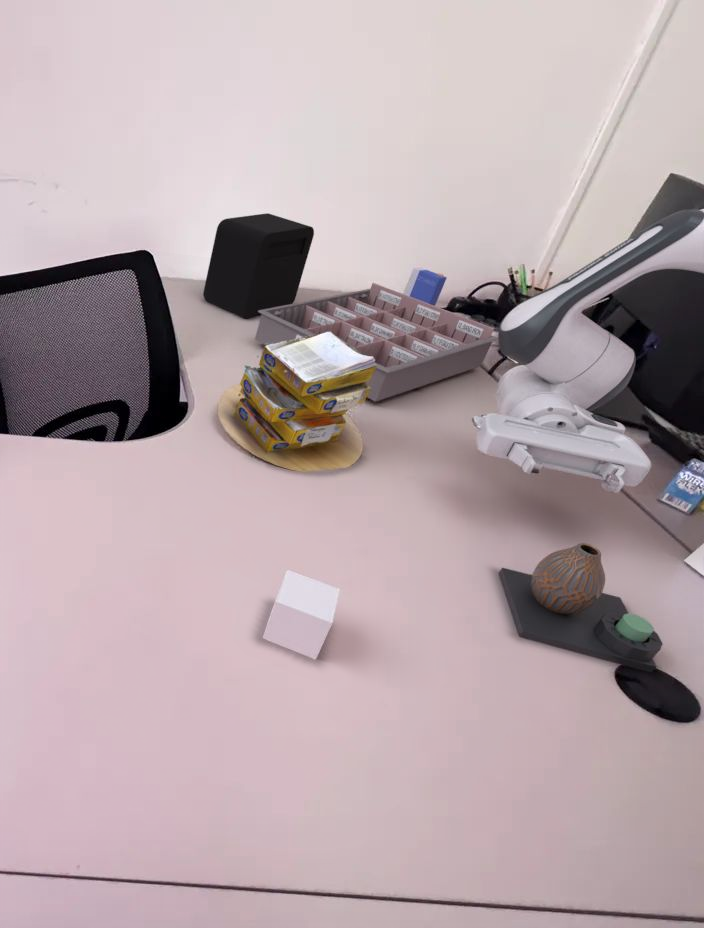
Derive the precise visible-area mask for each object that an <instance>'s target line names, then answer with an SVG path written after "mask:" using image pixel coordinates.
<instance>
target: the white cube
mask: <svg viewBox="0 0 704 928" xmlns="http://www.w3.org/2000/svg"><path fill="white" fill-rule="evenodd" d="M340 591H341V589H340V588H338V587H335V586H333V585H330V584H327V583H325V582H323V581H320V580H317V579H314V578H311V577H308V576H305V575H303V574H300V573H297V572H294V571H293V570H289V569H286V571H285V574H284V576H283V579H282V582H281V584H280V587H279V590H278V593H277V595H276V597H275V601H274V603H273V606H272V609H271V611H270V615H269V617H268V621H267V623H266V627H265V630H264V631H263V634H262V635H263V636H262V639H263V640H265V641H268V642H270V643H274V644H275V645H278V646H281V647H282V648H285V649H288V650H291V651H293V652H296V653H298V654H300V655H303V656H305V657H308V658H310V659H313V660H315V661H316V660H317V658H318V656H319V653H320V651H321V649H322V648H323V645H324V643H325V640H326V638H327V636H328V634H329V632H330V629H331V627H332V625H333V622H334V619H335V613H336V609H337V604H338V600H339V595H340Z"/></svg>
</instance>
